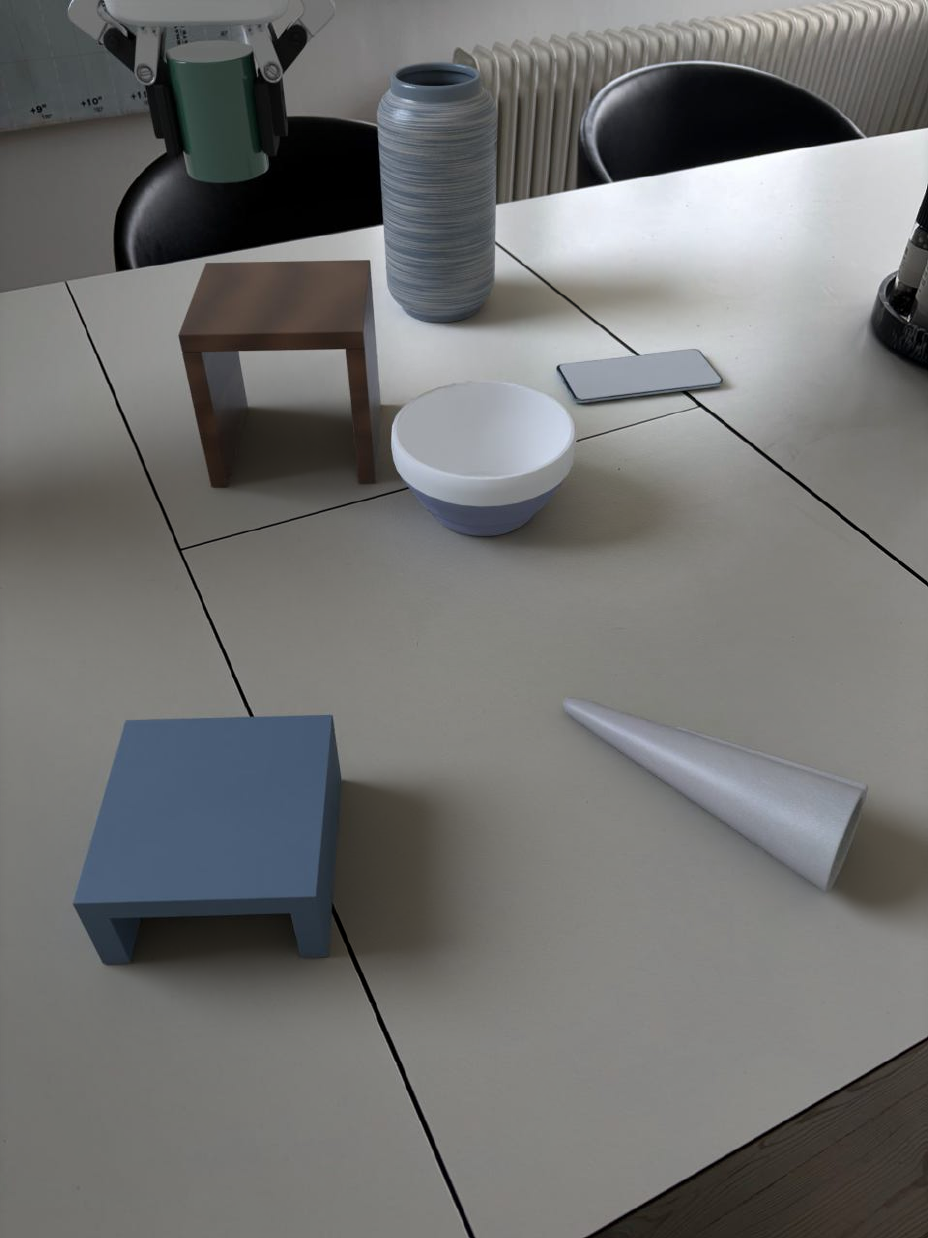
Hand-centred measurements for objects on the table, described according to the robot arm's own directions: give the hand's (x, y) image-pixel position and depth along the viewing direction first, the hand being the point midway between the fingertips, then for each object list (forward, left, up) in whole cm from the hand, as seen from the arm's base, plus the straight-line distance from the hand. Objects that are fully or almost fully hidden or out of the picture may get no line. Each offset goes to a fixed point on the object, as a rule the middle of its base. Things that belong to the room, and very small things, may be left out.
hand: (224, 146), depth 61 cm
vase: (+13, +40, -30) cm, 51 cm away
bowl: (+16, +3, -30) cm, 34 cm away
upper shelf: (0, +13, -29) cm, 32 cm away
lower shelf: (0, -31, -29) cm, 43 cm away
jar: (0, 0, -1) cm, 1 cm away
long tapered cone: (+27, -27, -30) cm, 48 cm away
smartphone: (+32, +23, -29) cm, 49 cm away
